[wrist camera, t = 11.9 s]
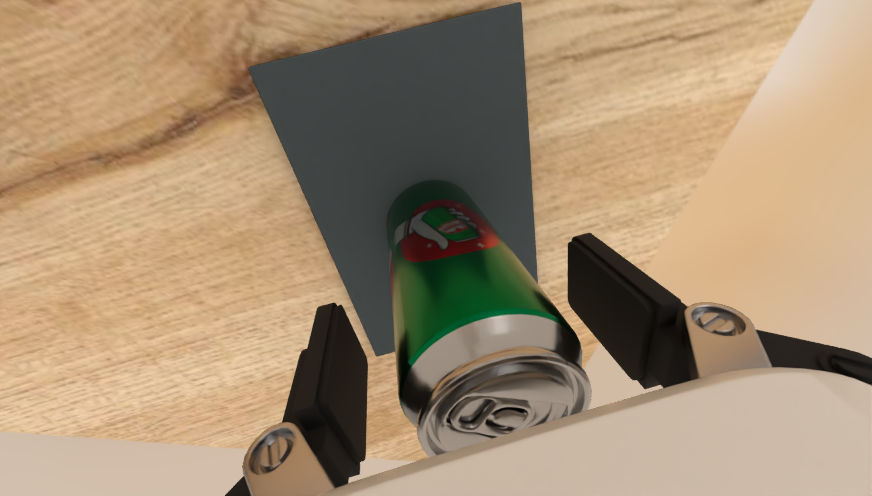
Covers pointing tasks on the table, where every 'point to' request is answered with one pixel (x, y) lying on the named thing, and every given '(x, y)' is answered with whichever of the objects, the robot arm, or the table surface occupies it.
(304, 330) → the table surface
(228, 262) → the table surface
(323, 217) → the mat
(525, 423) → the soda can
